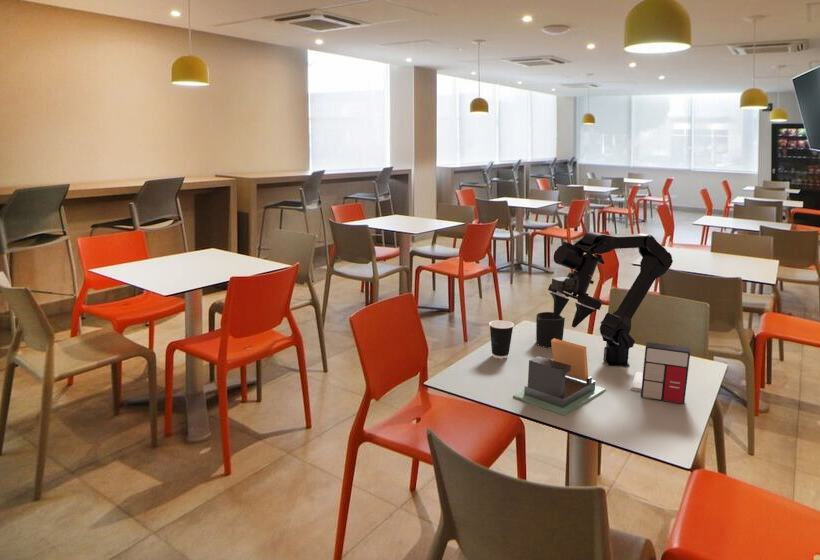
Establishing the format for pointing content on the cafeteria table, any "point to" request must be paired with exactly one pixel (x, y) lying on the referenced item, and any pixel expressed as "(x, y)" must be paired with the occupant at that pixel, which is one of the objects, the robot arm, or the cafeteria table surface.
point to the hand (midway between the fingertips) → (563, 322)
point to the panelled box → (665, 372)
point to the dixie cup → (500, 338)
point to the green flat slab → (557, 409)
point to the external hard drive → (637, 382)
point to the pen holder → (548, 328)
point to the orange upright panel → (571, 358)
